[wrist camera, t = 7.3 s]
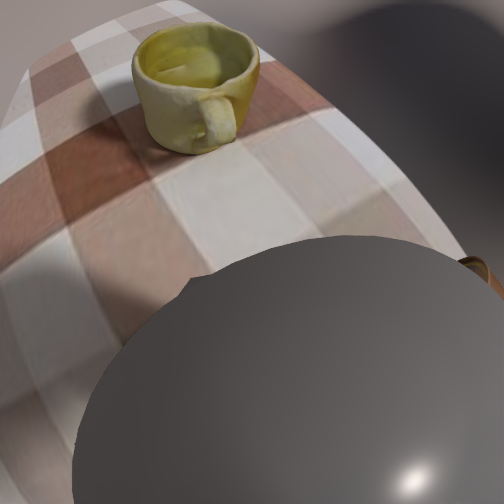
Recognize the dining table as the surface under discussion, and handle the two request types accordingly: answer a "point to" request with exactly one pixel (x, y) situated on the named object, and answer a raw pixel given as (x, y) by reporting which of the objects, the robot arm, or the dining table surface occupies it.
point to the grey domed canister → (307, 385)
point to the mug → (195, 84)
